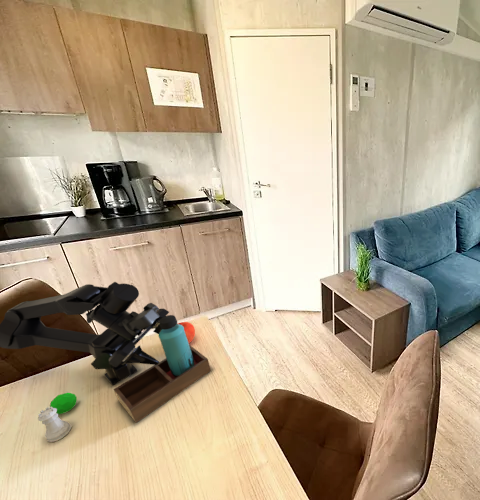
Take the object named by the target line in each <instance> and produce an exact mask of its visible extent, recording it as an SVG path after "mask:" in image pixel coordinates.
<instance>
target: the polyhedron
mask: <svg viewBox="0 0 480 500" xmlns="http://www.w3.org/2000/svg"><path fill="white" fill-rule="evenodd" d="M77 402H78V398H77V396H76V394H75V393H72V392H64V393H61V394H58V395H56V396H55V398H53V399H52V400H51V401H50V404H49V408H50V407H53V408H56V409H57V412H56V413H58V415H62V414H65V413H68V412H70V411H71V410H73V408H74V407H75V406H76V404H77Z"/></svg>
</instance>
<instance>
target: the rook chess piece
mask: <svg viewBox="0 0 480 500" xmlns="http://www.w3.org/2000/svg"><path fill="white" fill-rule="evenodd" d="M44 408H45V410H43V409H41V410H40V411H39V412H40V413H38V414H37V416H38V417H37V421H39V422H41V424H42V425H44V427H45V434H44V437H45V438H46V439H45V440H46V441H47V442H52V443H53V442H57V441H59V440H62V439H64V438H65V437H66V436H67V435H68V434H69V433H70V431H71V429H72V425H71V424H70V422H69V421H68V420H63V419H61V418H60V417H59V414H58V413H56V412H57V409H56V408H53V407H50V406H47V407H44Z"/></svg>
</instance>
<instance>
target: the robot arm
mask: <svg viewBox="0 0 480 500" xmlns="http://www.w3.org/2000/svg"><path fill="white" fill-rule="evenodd" d="M139 295H140V292H139V289H138V288H137V287H136V286H135V285H134V284H129V283H118V282H117V281H113V282H112V283H111V284H109V285H108V286H107V287H104V286H97V285H94V284H90V283H89V284H88V283H87V284H83V285H82V286H79V287H76V288H75V289H73V290H70V291H69V292H67V293H65V294H60V295H55V296H50V297H45V298H40V299H35V300H26V301H23V302H21V303H18V304H17V305H14V306H13V307H11V308H9V309H8V310H7V311H6V312H5V313H4V316H3V317H4V318H3V319H2V321H1V322H0V348H2V349H7V350H9V349H11V350H21V349H26V348H29V347H34V346H41V347H48V348H55V349H62V350H67V351H68V350H69V351H76V352H83V353H89V354H91V356H92V357H93V358H94V360H93V361H92V362H91V363H90V364H91V366H92V367H93V368H94V370H105V373H104V377H105V379H107V381H108V382H109V384H110V385H112V386H115V385H116V384H118V383H120V382H121V381H123V380H125V379H127V378H128V377H130V376H132V375H134V374H136V373H137V372H138V368H136V366H134V364H141V365H142V364H143V365H151V366H154V365H157V364H158V363H159V362H160V361H159V360H158V359H157V358H155V357H153V356H152V355H150V354H148V353H146V352H145V351H144V350H143V349H142V347H141V345H138V346H137V347H136V345H137V344H138V343H139V342H140V341H141V340H142V339H143V338H144V337H145V336H146V335H147V334H148V333H149V332H150V331H151V330H152V329H153V331H152V332H153V333H155V334H156V335H159V333H160V331H161V330H162V329H161V328H160V323H159V321H160V319H161V318H163V317H165V316H168V315H169V313H170V311H169V310H167V309H166V308H159V307H158V306H157V305H156V304H154V303H153V302H149V303H147V304H145V305H144V306H143V310H142V311H141V312H139V313H138V312H137V311H133V310H132V311H131V312H129V311H127V310H128V309H129V308H130V307H131V306H132V305H133V303H134V302H135V301H136V300H137V299H138V297H139ZM56 314H65V315H67V316H74V315H75V316H78V315H80V316H81V315H84V314H85V316H86V323H87V324H91V323H93V322H94V321H95V322H97V323H98V324H99V325H101V326H103V327H104V328H106V329H105V330H104V331H102V332H101V333H100V334H97V333H89V332H83V331H77V330H76V331H75V330H68V329H61V328H55V327H49V326H46V325H45V324H44V323H43V321H42V317H46V316H50V315H56Z"/></svg>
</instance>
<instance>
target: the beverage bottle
mask: <svg viewBox="0 0 480 500" xmlns="http://www.w3.org/2000/svg"><path fill="white" fill-rule="evenodd" d="M159 323H160V328H161V329H162V330H161V331H160V333H159V334H158V338H159V342H160V343H161V347H162V349H163V353H164V357H165V359H167V362H168V364H169V369H170V370H171V373H172V374H173V375H175V376H179V375H181V374H182V373H184V372H186V371H187V370H189V369H190V368H192V367H193V366H194V365H195V364H194V363H195V361H194V360H193V355H192V351H191V349H190V347H189V345H190V343H189V342H188V340H187V337H186V334H185V331H184V327H183V326H182V325H180V324H178V320H177V318H176V316H175V315H174V314H167V315H166V316H165V317H163V318H161V319H160V321H159Z"/></svg>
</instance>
